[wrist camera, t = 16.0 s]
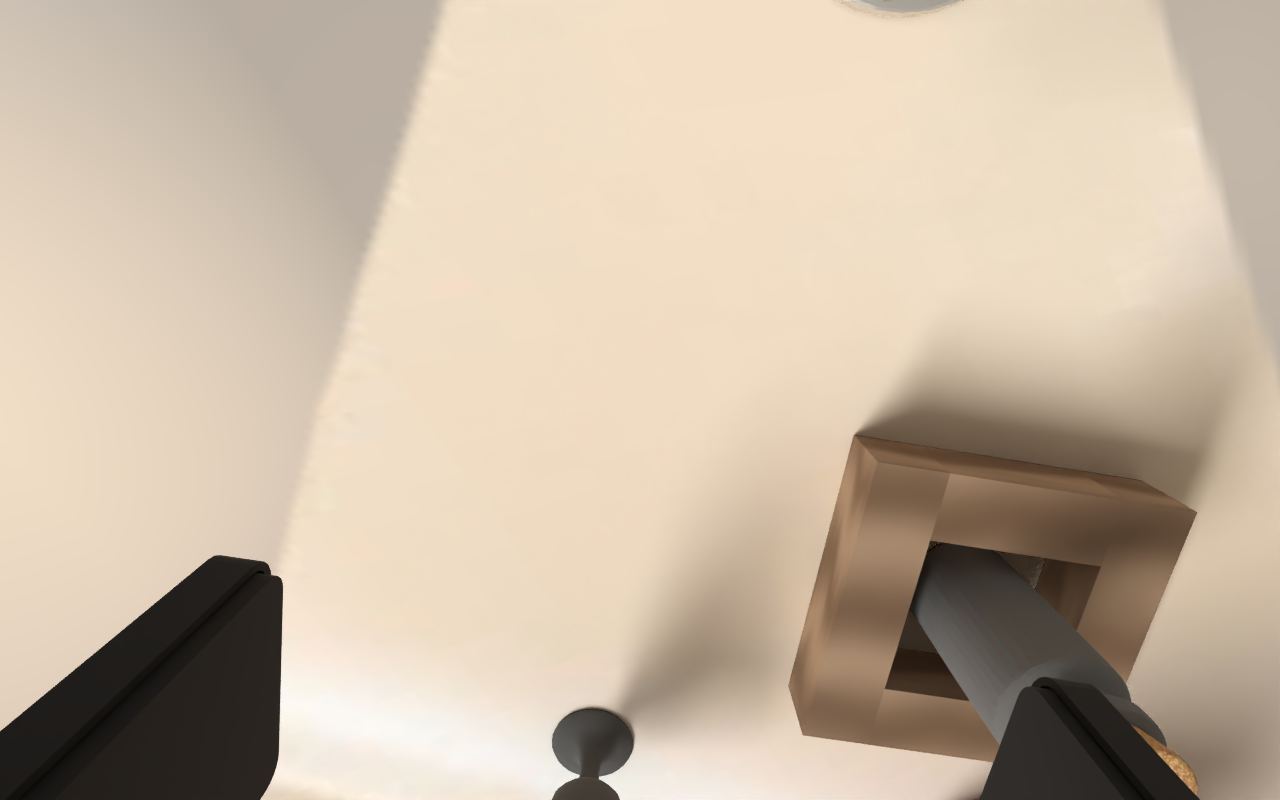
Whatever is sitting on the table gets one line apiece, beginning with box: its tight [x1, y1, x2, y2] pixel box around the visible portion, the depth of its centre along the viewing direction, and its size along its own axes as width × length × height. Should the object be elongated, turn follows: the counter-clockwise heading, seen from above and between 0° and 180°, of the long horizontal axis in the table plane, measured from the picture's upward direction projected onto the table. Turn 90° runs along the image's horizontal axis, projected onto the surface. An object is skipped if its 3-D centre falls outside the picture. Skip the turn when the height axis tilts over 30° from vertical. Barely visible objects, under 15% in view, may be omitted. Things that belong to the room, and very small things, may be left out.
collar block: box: [789, 435, 1197, 762], centre depth 38 cm, size 16×16×4 cm
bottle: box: [910, 543, 1198, 796], centre depth 33 cm, size 6×6×15 cm
